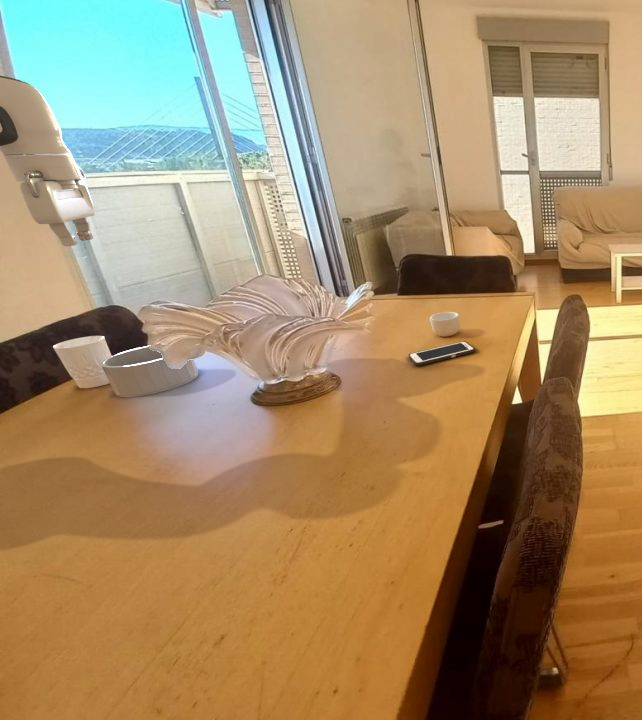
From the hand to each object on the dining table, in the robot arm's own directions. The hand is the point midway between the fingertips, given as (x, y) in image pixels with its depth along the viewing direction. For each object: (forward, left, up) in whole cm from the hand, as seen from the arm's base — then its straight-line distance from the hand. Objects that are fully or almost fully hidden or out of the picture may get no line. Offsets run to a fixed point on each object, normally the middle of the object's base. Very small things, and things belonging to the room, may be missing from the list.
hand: (79, 242), depth 98 cm
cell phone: (+62, -28, -31) cm, 75 cm away
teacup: (+67, -11, -31) cm, 75 cm away
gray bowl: (+4, -6, -31) cm, 32 cm away
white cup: (-8, +3, -31) cm, 32 cm away
